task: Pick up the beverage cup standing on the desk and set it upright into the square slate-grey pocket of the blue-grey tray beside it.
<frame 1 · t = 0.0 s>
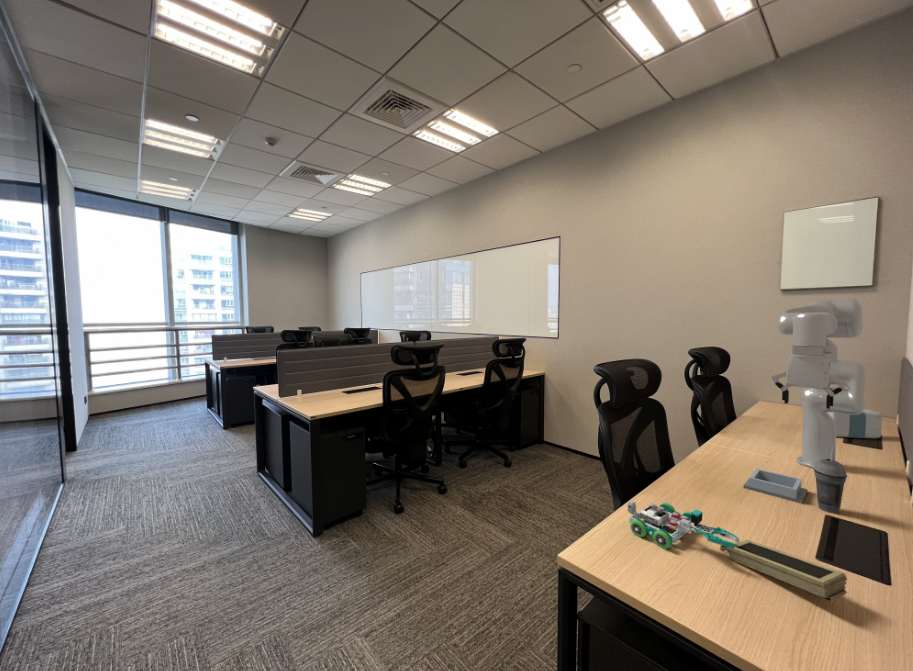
hand: (806, 405, 117), 31 cm above the table, tool pointing down, fingers open, 9 cm apart
robot kit: (682, 539, 99), on the table
beverage cup: (828, 510, 113), on the table
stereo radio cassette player: (849, 436, 184), on the table
blue-grey tray: (775, 489, 126), on the table
box: (774, 575, 84), on the table
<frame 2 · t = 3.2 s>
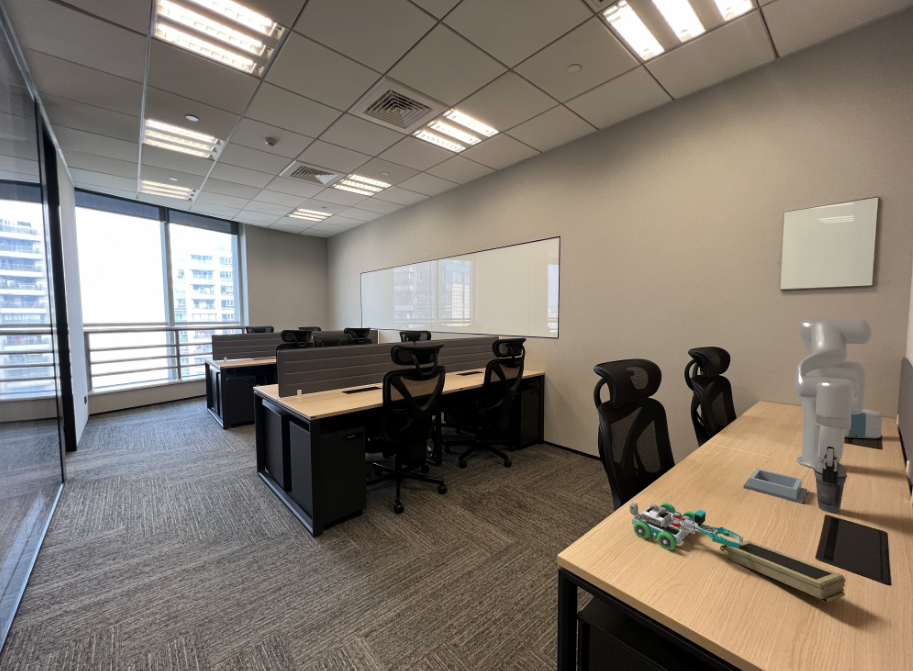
hand: (830, 478, 112), 10 cm above the table, tool pointing down, fingers closed on beverage cup, 7 cm apart
beverage cup: (828, 510, 113), on the table, touching gripper
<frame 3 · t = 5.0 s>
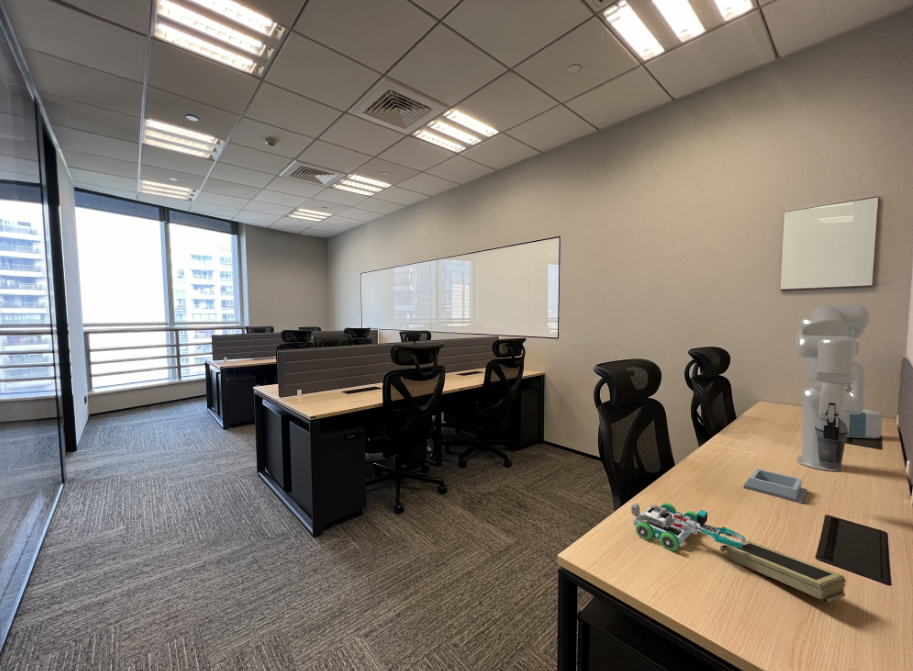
hand: (832, 435, 112), 23 cm above the table, tool pointing down, fingers closed on beverage cup, 7 cm apart
beverage cup: (829, 467, 113), point 13 cm above the table, touching gripper
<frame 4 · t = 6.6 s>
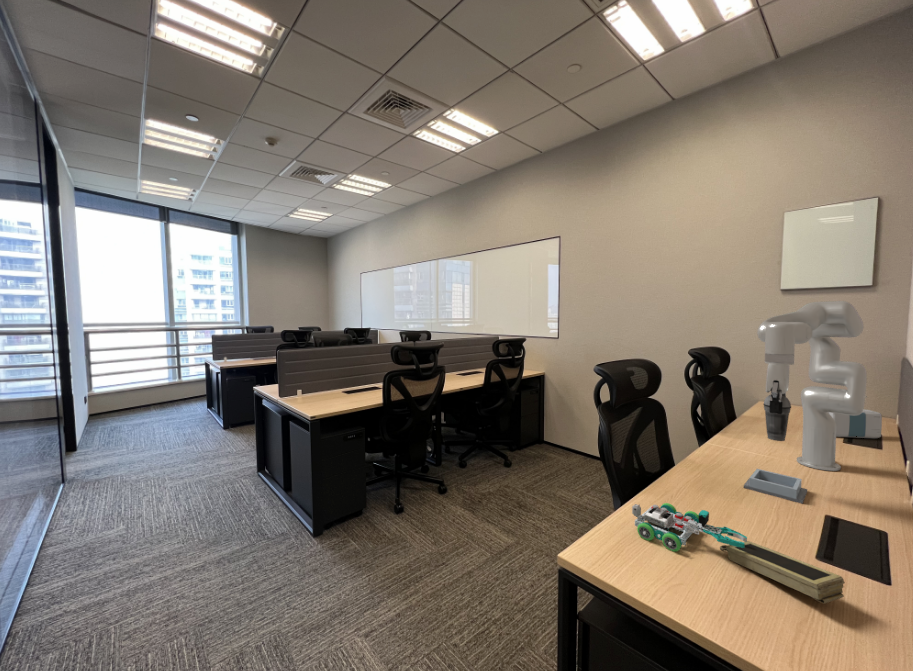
hand: (777, 410, 125), 27 cm above the table, tool pointing down, fingers closed on beverage cup, 7 cm apart
beverage cup: (776, 439, 126), point 17 cm above the table, touching gripper
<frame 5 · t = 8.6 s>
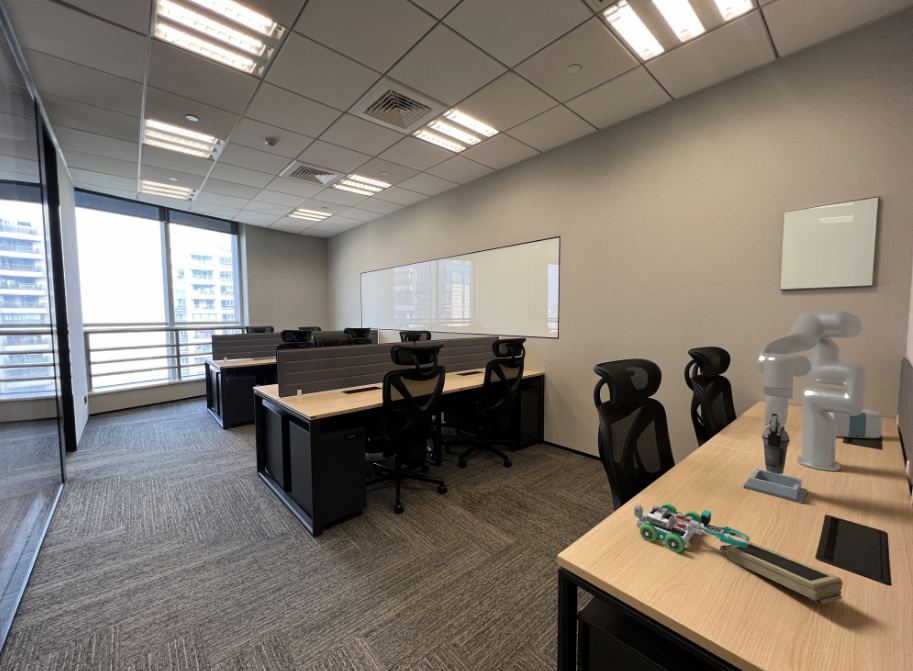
hand: (776, 443, 125), 16 cm above the table, tool pointing down, fingers closed on beverage cup, 7 cm apart
beverage cup: (774, 471, 126), point 6 cm above the table, touching gripper
when the fingers open (12 cm above the table, at t = 10.1 s): beverage cup drops 1 cm, resting on blue-grey tray.
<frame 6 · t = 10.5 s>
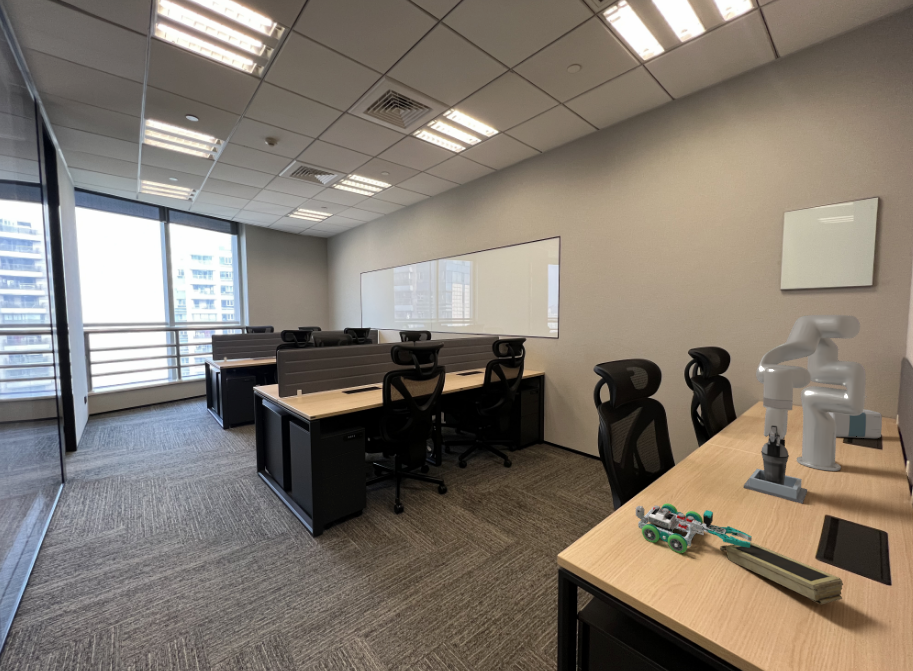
hand: (776, 453, 126), 13 cm above the table, tool pointing down, fingers open, 9 cm apart
beverage cup: (774, 487, 126), point 1 cm above the table, touching blue-grey tray
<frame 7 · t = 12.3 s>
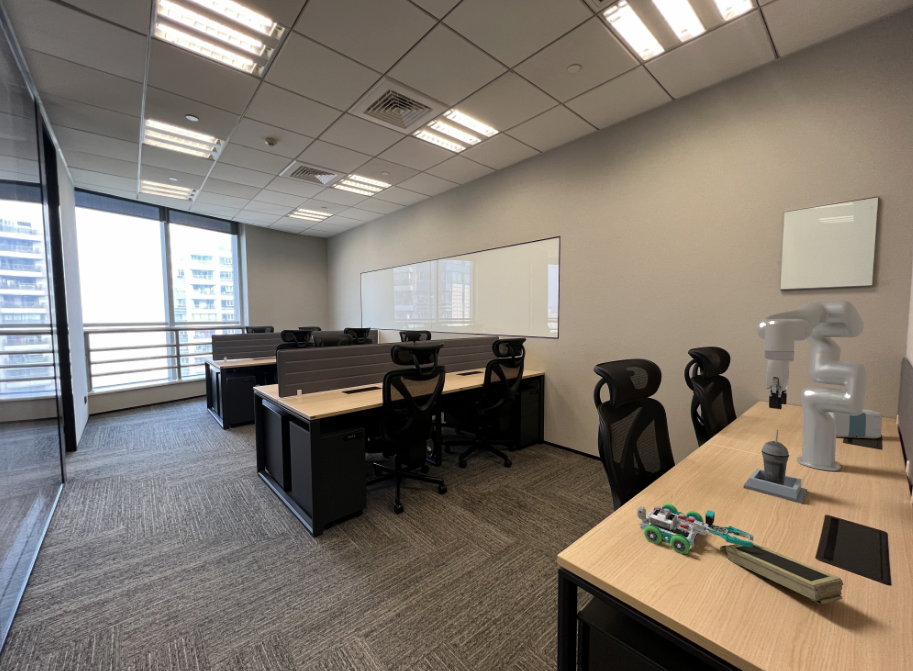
hand: (777, 406, 125), 29 cm above the table, tool pointing down, fingers open, 9 cm apart
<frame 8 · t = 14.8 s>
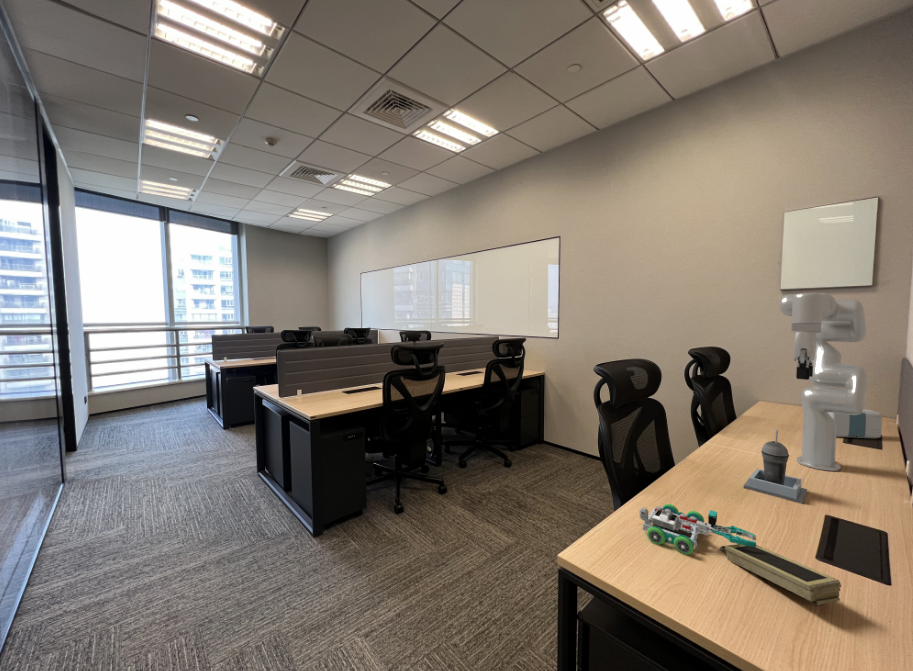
hand: (804, 377, 128), 38 cm above the table, tool pointing down, fingers open, 9 cm apart
at the end: beverage cup 0.2 cm off-centre on the blue-grey tray, point 0.8 cm above the blue-grey tray's base; beverage cup tilted 1°; the gripper is holding nothing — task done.
